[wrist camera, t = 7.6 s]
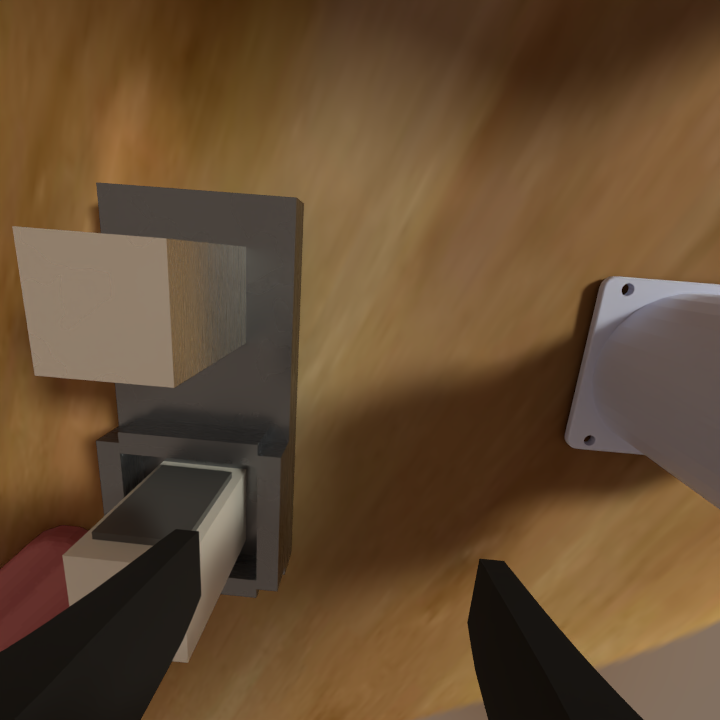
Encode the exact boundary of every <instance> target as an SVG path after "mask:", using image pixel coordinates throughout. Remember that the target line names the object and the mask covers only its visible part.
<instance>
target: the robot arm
mask: <svg viewBox="0 0 720 720" xmlns="http://www.w3.org/2000/svg"><path fill="white" fill-rule="evenodd" d="M625 284H627V285H628V291H627V293H626V294H624V295H623V294H622V287H623V286H624V285H625ZM589 435H591V438H590V440H588V441H586V442H584V439H585V437H587V436H589ZM565 441H566V443H567V444H568V445H570V446H571V447H572V448H575V449H585V450H596V451H607V452H618V453H630V454H641V455H646V456H647V457H648V458H650V459H651V460H652V461H654V462H655V463H657V464H658V465H659V466H661V467H662V468H663V469H665V470H666V471H668V472H669V473H670V474H672V475H673V476H674V477H676V478H677V479H679V480H680V481H681V482H683V483H684V484H685V485H687V486H688V487H690V488H691V489H692V490H694V491H695V492H696V493H698V494H699V495H701V496H702V497H703V498H705V499H706V500H707V501H709V502H710V503H712V504H713V505H714V506H716V507H717V508H719V509H720V285H718V284H706V283H693V282H681V281H668V280H655V279H643V278H630V277H617V276H612V277H608V278H606V279H604V280H603V282H602V283H601V285H600V287H599V291H598V295H597V300H596V304H595V308H594V312H593V317H592V321H591V325H590V329H589V334H588V338H587V342H586V346H585V351H584V355H583V359H582V363H581V368H580V372H579V376H578V380H577V385H576V389H575V393H574V397H573V402H572V406H571V410H570V414H569V419H568V423H567V427H566V431H565ZM200 598H201V571H200V544H199V531H191V530H181V529H175V530H174V531H172V532H171V533H170V534H168V535H167V536H166V537H164V538H163V539H161V540H160V541H159V542H157V543H156V544H155V545H154V546H152V547H151V548H150V549H148V550H147V551H146V552H144V553H143V554H142V555H140V556H139V557H138V558H136V559H135V560H134V561H132V562H131V563H130V564H128V565H127V566H126V567H124V568H123V569H122V570H120V571H119V572H118V573H116V574H115V575H113V576H112V577H111V578H109V579H108V580H107V581H105V582H104V583H103V584H101V585H100V586H98V587H97V588H96V589H94V590H93V591H92V592H90V593H89V594H87V595H86V596H84V597H83V598H81V599H80V600H78V601H77V602H76V603H74V604H73V605H71V606H70V607H68V608H67V609H65V610H64V611H62V612H61V613H59V614H58V615H57V616H55V617H54V618H52V619H51V620H49V621H48V622H46V623H45V624H43V625H42V626H40V627H39V628H37V629H36V630H34V631H33V632H31V633H30V634H28V635H27V636H25V637H23V638H22V639H20V640H19V641H17V642H16V643H14V644H12V645H11V646H9V647H8V648H6V649H4V650H3V651H1V652H0V720H141V718H142V716H143V714H144V712H145V711H146V709H147V707H148V705H149V703H150V701H151V699H152V698H153V696H154V694H155V692H156V690H157V688H158V686H159V685H160V683H161V681H162V679H163V677H164V675H165V673H166V672H167V670H168V668H169V666H170V664H171V662H172V660H173V658H174V657H175V655H176V653H177V651H178V649H179V647H180V645H181V643H182V641H183V639H184V637H185V634H186V632H187V630H188V627H189V625H190V623H191V620H192V618H193V615H194V613H195V610H196V608H197V605H198V603H199V600H200ZM468 629H469V636H470V642H471V648H472V654H473V660H474V665H475V671H476V675H477V679H478V683H479V687H480V690H481V694H482V698H483V702H484V705H485V709H486V713H487V716H488V720H643V719H642V718H641V717H640V716H639V715H638V714H637V713H636V712H635V711H634V710H633V709H632V708H631V707H630V706H629V705H628V704H627V702H625V700H624V699H623V698H622V697H620V695H619V694H618V693H617V692H616V691H615V690H614V689H613V688H612V687H611V686H610V685H609V684H608V683H607V681H606V680H605V679H604V678H603V677H602V676H601V675H600V674H599V673H598V672H597V671H596V670H595V669H594V667H593V666H592V665H591V664H590V663H589V662H588V661H587V660H586V659H585V658H584V656H583V655H582V654H581V653H580V652H579V651H578V650H577V649H576V647H575V646H574V645H573V644H572V643H571V642H570V640H569V639H568V638H567V637H566V636H565V635H564V633H563V632H562V631H561V630H560V629H559V628H558V627H557V625H556V624H555V623H554V622H553V621H552V619H551V618H550V617H549V616H548V615H547V613H546V612H545V611H544V610H543V609H542V607H541V606H540V605H539V604H538V602H537V601H536V600H535V599H534V598H533V596H532V595H531V594H530V593H529V591H528V590H527V589H526V588H525V586H524V585H523V584H522V583H521V582H520V580H519V579H518V578H517V577H516V575H515V574H514V573H513V572H512V570H511V569H510V568H509V567H508V566H507V564H506V563H505V562H504V561H497V560H487V559H479V565H478V570H477V575H476V580H475V586H474V591H473V596H472V601H471V607H470V612H469V617H468Z"/></svg>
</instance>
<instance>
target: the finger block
mask: <svg viewBox="0 0 720 720" xmlns="http://www.w3.org/2000/svg"><path fill="white" fill-rule="evenodd" d="M175 529H181V530H191V531H199V544H200V571H201V598H200V600H199V603H198V605H197V608H196V610H195V613H194V615H193V618H192V620H191V623H190V625H189V627H188V630H187V632H186V634H185V637H184V639H183V641H182V643H181V645H180V647H179V649H178V651H177V653H176V655H175V657H174V658H173V660H172V661H175V662H184V663H188V662H189V660H190V658H191V655H192V653H193V651H194V649H195V647H196V645H197V643H198V641H199V638H200V636H201V634H202V632H203V630H204V628H205V626H206V624H207V622H208V619H209V617H210V615H211V613H212V611H213V609H214V607H215V605H216V602H217V600H218V598H219V596H220V594H221V592H222V590H223V588H224V586H225V583H226V581H227V579H228V577H229V575H230V573H231V571H232V569H233V566H234V564H235V562H236V560H237V558H238V556H239V554H240V552H241V550H242V547H243V545H244V543H245V541H246V469H238V468H228V467H218V466H208V465H198V464H189V463H179V462H169V461H163V462H162V463H161V464H160V465H159V466H158V467H157V468H155V469H154V470H153V471H152V472H151V473H150V474H149V475H148V476H147V477H146V478H145V479H144V480H143V481H142V482H140V483H139V484H138V485H137V486H136V487H135V488H134V489H133V490H132V491H131V492H130V493H129V494H128V495H127V496H125V497H124V498H123V499H122V500H121V501H120V502H119V503H118V504H117V505H116V506H115V507H114V508H113V509H112V510H111V511H109V512H108V513H107V514H106V515H105V516H104V517H103V518H102V519H101V520H100V521H99V522H98V523H97V524H96V525H94V526H93V527H92V528H91V529H90V530H89V531H88V532H87V533H86V534H85V535H84V536H83V537H82V538H81V539H79V540H78V541H77V542H76V543H75V544H74V545H73V546H72V547H71V548H70V549H69V550H68V551H67V552H66V553H64V554H63V555H62V557H63V564H64V571H65V578H66V585H67V592H68V600H69V607H70V606H71V605H73V604H74V603H76V602H77V601H78V600H80V599H81V598H83V597H84V596H86V595H87V594H89V593H90V592H92V591H93V590H94V589H96V588H97V587H98V586H100V585H101V584H103V583H104V582H105V581H107V580H108V579H109V578H111V577H112V576H113V575H115V574H116V573H118V572H119V571H120V570H122V569H123V568H124V567H126V566H127V565H128V564H130V563H131V562H132V561H134V560H135V559H136V558H138V557H139V556H140V555H142V554H143V553H144V552H146V551H147V550H148V549H150V548H151V547H152V546H154V545H155V544H156V543H157V542H159V541H160V540H161V539H163V538H164V537H166V536H167V535H168V534H170V533H171V532H172V531H174V530H175Z"/></svg>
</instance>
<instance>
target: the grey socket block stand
mask: <svg viewBox="0 0 720 720" xmlns="http://www.w3.org/2000/svg"><path fill="white" fill-rule="evenodd" d="M96 185H97V195H98V206H99V217H100V228H101V233H90V232H78V231H65V230H52V229H40V228H27V227H15V226H12V227H13V233H14V240H15V247H16V254H17V260H18V267H19V274H20V280H21V287H22V294H23V300H24V307H25V314H26V320H27V327H28V334H29V340H30V347H31V354H32V360H33V367H34V374H35V376H46V377H57V378H68V379H80V380H91V381H102V382H114V383H115V388H116V399H117V409H118V420H119V426H118V427H117V428H115V429H114V430H112V431H111V432H109V433H107V434H106V435H104V436H103V437H101V438H100V439H98V440H96V445H97V454H98V463H99V472H100V481H101V490H102V499H103V508H104V516H105V515H106V514H107V513H108V512H109V511H111V510H112V509H113V508H114V507H115V506H116V505H117V504H118V503H119V502H120V501H121V500H122V499H123V498H124V497H125V496H127V495H128V494H129V493H130V492H131V491H132V490H133V489H134V488H135V487H136V486H137V485H138V484H139V483H140V482H142V481H143V480H144V479H145V478H146V477H147V476H148V475H149V474H150V473H151V472H152V471H153V470H154V469H155V468H157V467H158V466H159V465H160V464H161V463H162V462H163V461H169V462H179V463H189V464H198V465H208V466H218V467H228V468H238V469H246V541H245V543H244V545H243V547H242V550H241V552H240V554H239V556H238V558H237V560H236V562H235V564H234V566H233V569H232V571H231V573H230V575H229V577H228V579H227V581H226V583H225V586H224V588H223V590H222V592H221V594H224V595H234V596H244V597H254V598H256V597H257V595H258V592H259V590H269V591H278V588H279V584H280V581H281V578H282V575H283V574H284V575H285V572H286V568H287V565H288V562H289V558H290V555H291V543H292V515H293V488H294V460H295V432H296V405H297V377H298V349H299V322H300V294H301V266H302V238H303V211H304V203H303V202H301V201H300V200H299V199H298V198H294V197H280V196H267V195H254V194H241V193H228V192H214V191H201V190H188V189H175V188H162V187H148V186H135V185H122V184H109V183H96Z"/></svg>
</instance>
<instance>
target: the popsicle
mask: <svg viewBox="0 0 720 720" xmlns="http://www.w3.org/2000/svg"><path fill="white" fill-rule="evenodd" d="M87 532H88V530H86V529H84V528H82V527H75V526H66V525H61V526H58V527H55V528H52V529H49V530H46V531H43V532H42V533H41V534H40V535H38V536H37V537H36V538H35V539H34V540H32V541H31V542H30V543H29V544H28V545H27V546H25V547H24V548H23V549H22V550H21V551H20V552H19V553H18V554H17V555H15V556H14V557H13V558H12V559H11V560H10V561H9V562H8V563H7V564H5V565H4V566H3V567H2V568H1V569H0V652H1V651H3V650H4V649H6V648H8V647H9V646H11V645H12V644H14V643H16V642H17V641H19V640H20V639H22V638H23V637H25V636H27V635H28V634H30V633H31V632H33V631H34V630H36V629H37V628H39V627H40V626H42V625H43V624H45V623H46V622H48V621H49V620H51V619H52V618H54V617H55V616H57V615H58V614H59V613H61V612H62V611H64V610H65V609H67V608H68V607H69V600H68V592H67V585H66V578H65V571H64V564H63V557H62V555H63V554H64V553H66V552H67V551H68V550H69V549H70V548H71V547H72V546H73V545H74V544H75V543H76V542H77V541H78V540H79V539H81V538H82V537H83V536H84V535H85V534H86V533H87Z"/></svg>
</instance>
